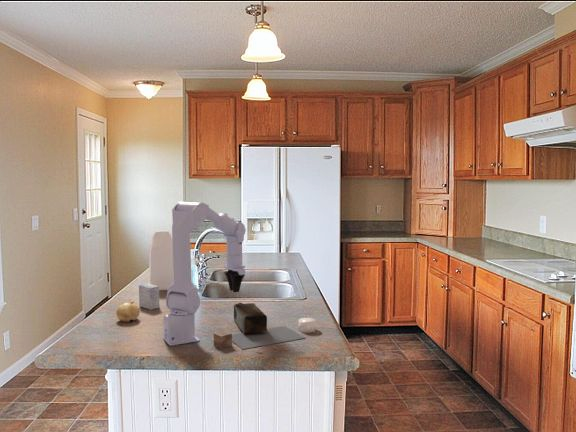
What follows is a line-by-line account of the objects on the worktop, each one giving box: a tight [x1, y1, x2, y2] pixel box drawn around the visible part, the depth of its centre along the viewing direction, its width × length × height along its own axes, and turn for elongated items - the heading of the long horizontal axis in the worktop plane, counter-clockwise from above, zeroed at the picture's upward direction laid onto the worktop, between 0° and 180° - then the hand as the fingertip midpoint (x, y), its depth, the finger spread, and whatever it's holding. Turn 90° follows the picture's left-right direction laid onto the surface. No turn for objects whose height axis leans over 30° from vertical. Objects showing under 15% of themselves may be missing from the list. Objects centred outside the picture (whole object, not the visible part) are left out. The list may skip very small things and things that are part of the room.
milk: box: [148, 230, 174, 291], centre depth 234 cm, size 12×12×26 cm
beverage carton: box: [233, 302, 268, 335], centre depth 175 cm, size 8×19×7 cm, turn 17°
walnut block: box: [213, 330, 233, 350], centre depth 156 cm, size 4×4×4 cm
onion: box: [115, 299, 140, 323], centre depth 182 cm, size 8×8×7 cm
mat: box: [232, 325, 306, 350], centre depth 165 cm, size 22×14×1 cm, turn 119°
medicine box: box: [138, 283, 160, 311], centre depth 200 cm, size 8×4×9 cm, turn 47°
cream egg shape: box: [298, 317, 317, 334], centre depth 172 cm, size 6×6×4 cm
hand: (234, 291), depth 186 cm, fingers open, 2 cm apart
